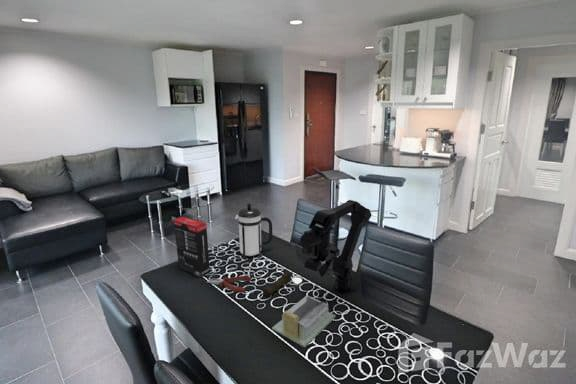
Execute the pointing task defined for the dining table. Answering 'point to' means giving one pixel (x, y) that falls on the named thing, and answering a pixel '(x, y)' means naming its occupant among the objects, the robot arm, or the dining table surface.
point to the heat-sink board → (304, 322)
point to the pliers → (225, 283)
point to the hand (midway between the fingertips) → (322, 276)
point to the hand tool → (277, 284)
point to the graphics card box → (192, 246)
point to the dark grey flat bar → (305, 308)
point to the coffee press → (251, 230)
